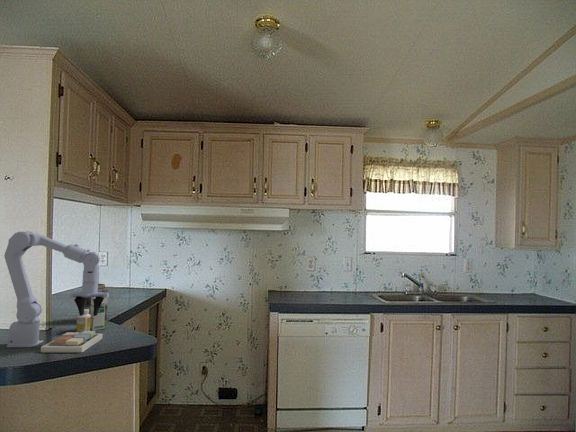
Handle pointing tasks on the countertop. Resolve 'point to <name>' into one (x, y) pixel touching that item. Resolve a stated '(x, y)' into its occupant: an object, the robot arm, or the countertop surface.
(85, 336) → the key slate
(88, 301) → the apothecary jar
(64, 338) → the key terracotta
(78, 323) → the supplement bottle
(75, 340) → the block
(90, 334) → the key sage
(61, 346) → the cream shallow tray
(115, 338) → the countertop surface
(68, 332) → the key rose
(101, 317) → the syrup box
